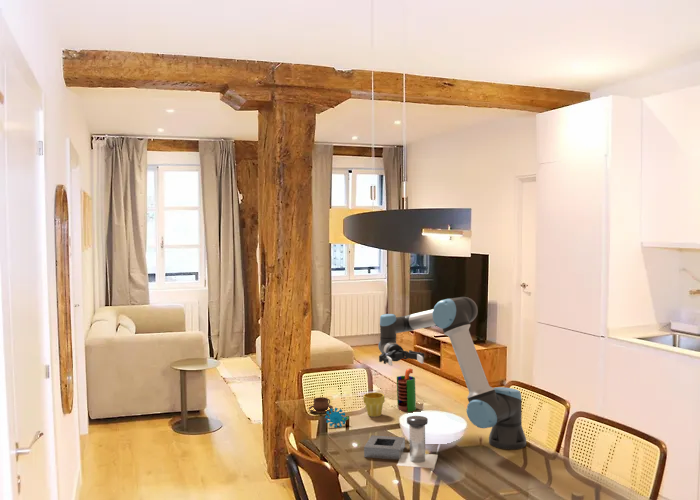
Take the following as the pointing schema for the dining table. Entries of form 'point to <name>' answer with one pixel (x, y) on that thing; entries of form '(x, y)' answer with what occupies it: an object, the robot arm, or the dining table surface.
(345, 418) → the gear
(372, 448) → the housing
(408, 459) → the pad
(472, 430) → the dining table surface
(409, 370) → the motor
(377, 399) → the plant pot
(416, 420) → the flanged shaft
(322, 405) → the cup and saucer
